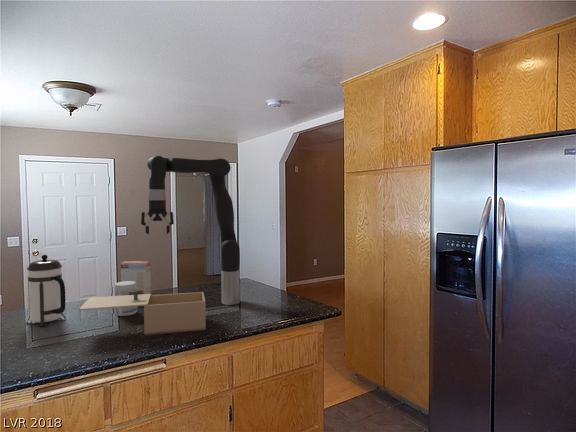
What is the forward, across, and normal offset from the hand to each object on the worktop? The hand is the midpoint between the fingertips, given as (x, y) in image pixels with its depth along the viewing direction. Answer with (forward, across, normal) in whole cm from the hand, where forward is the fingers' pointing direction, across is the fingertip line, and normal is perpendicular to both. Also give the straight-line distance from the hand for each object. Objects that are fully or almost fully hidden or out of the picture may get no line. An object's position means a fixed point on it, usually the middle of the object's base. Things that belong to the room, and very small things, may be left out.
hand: (157, 233), depth 173 cm
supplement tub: (+38, +15, -5) cm, 41 cm away
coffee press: (+38, +46, -1) cm, 60 cm away
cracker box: (+38, +13, -28) cm, 49 cm away
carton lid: (+26, +15, +19) cm, 35 cm away
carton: (+38, -8, +19) cm, 43 cm away
